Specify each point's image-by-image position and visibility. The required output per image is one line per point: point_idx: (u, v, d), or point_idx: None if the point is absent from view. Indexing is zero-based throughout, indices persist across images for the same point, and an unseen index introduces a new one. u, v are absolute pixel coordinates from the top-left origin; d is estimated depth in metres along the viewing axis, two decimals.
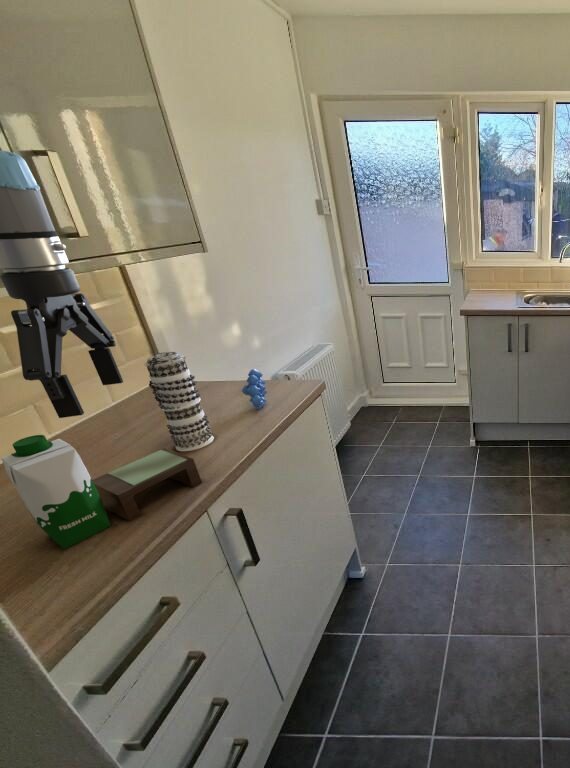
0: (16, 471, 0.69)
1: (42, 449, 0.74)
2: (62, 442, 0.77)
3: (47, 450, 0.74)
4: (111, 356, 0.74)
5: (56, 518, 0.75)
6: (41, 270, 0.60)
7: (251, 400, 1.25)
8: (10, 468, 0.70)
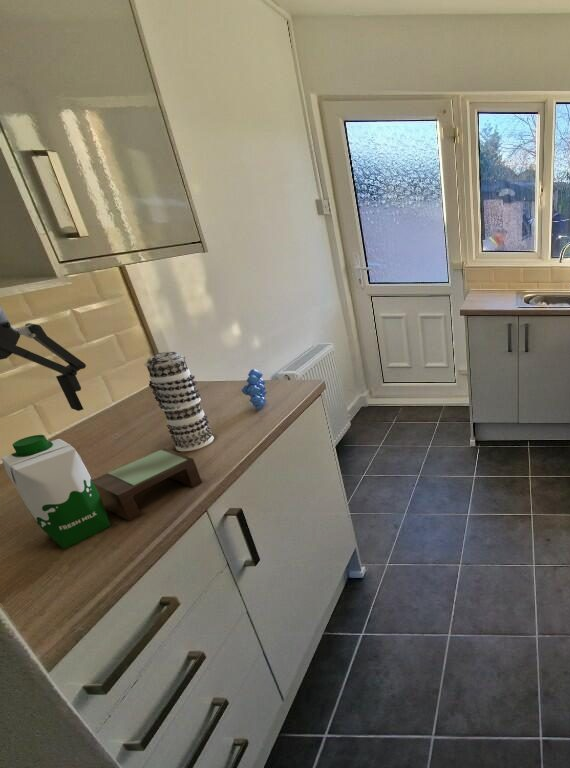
0: (16, 471, 0.69)
1: (42, 449, 0.74)
2: (62, 442, 0.77)
3: (47, 450, 0.74)
4: (68, 385, 0.75)
5: (56, 518, 0.75)
6: None
7: (251, 400, 1.25)
8: (10, 468, 0.70)
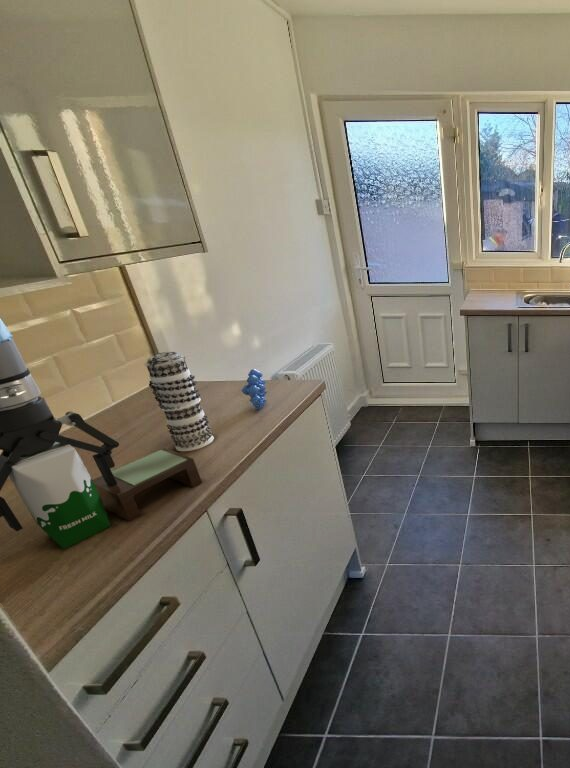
0: (16, 471, 0.69)
1: None
2: None
3: (47, 450, 0.74)
4: (104, 464, 0.81)
5: (56, 518, 0.75)
6: None
7: (251, 400, 1.25)
8: None
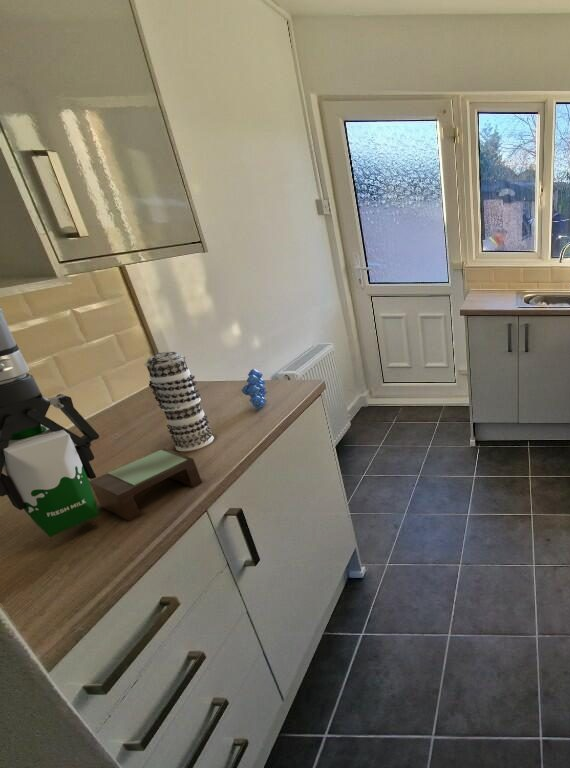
0: (8, 453, 0.68)
1: (35, 433, 0.73)
2: None
3: (40, 434, 0.73)
4: (82, 456, 0.78)
5: (45, 504, 0.73)
6: None
7: (251, 400, 1.25)
8: None
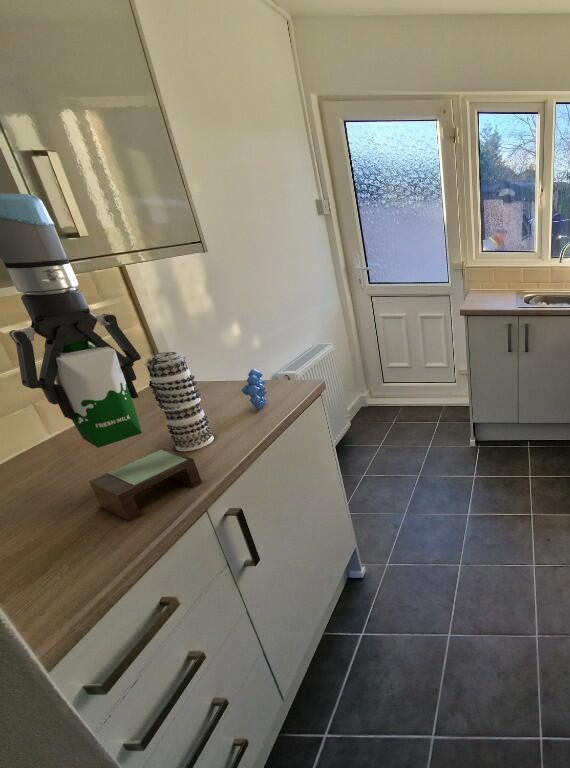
0: (61, 361, 0.72)
1: (83, 348, 0.77)
2: None
3: (88, 349, 0.77)
4: (126, 375, 0.82)
5: (94, 415, 0.77)
6: (34, 294, 0.69)
7: (251, 400, 1.25)
8: None
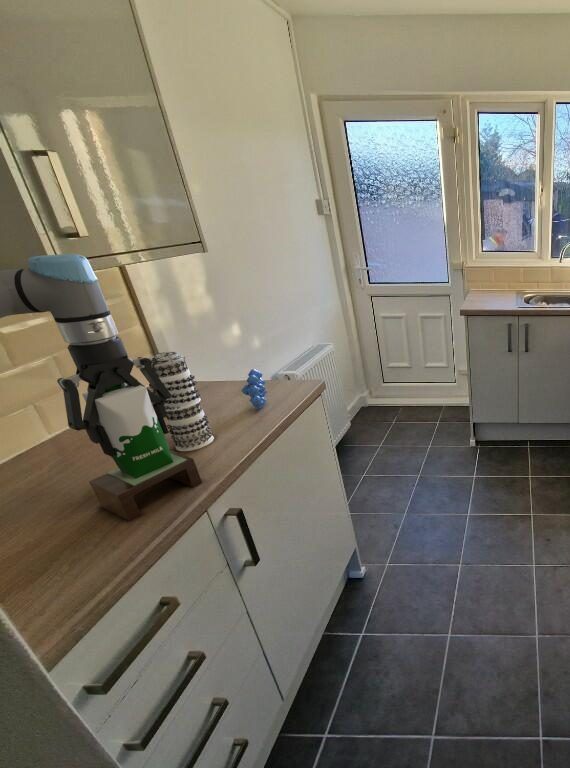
0: (99, 403, 0.78)
1: (117, 387, 0.83)
2: None
3: (122, 388, 0.83)
4: (158, 413, 0.88)
5: (131, 449, 0.83)
6: (81, 345, 0.75)
7: (251, 400, 1.25)
8: None
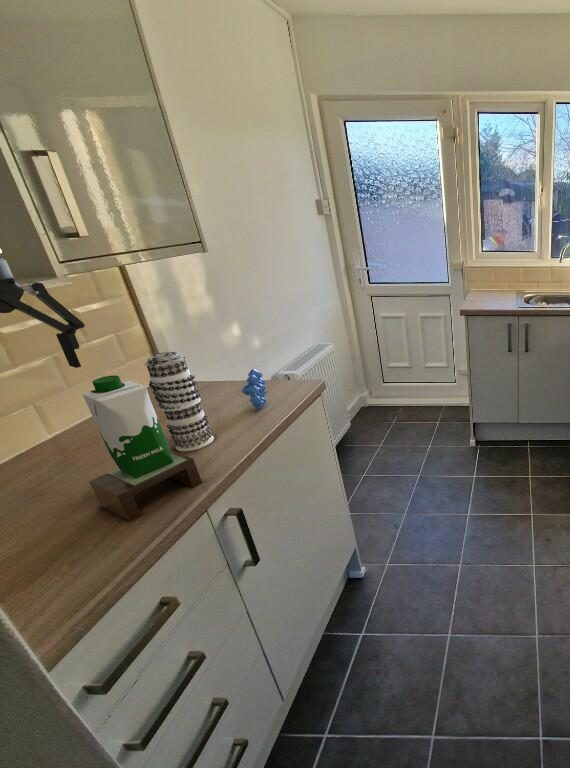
0: (100, 403, 0.78)
1: (117, 387, 0.83)
2: (133, 383, 0.86)
3: (122, 388, 0.83)
4: (67, 342, 0.79)
5: (131, 449, 0.83)
6: None
7: (251, 400, 1.25)
8: (93, 401, 0.79)
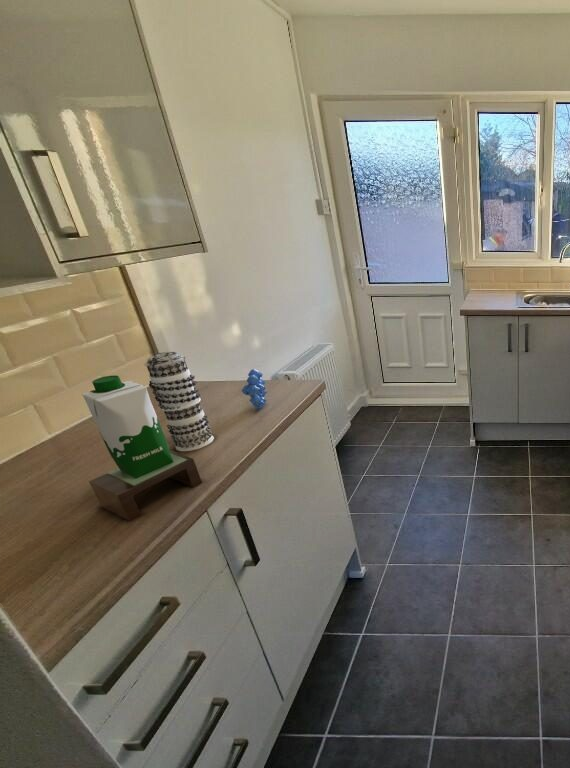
0: (100, 403, 0.78)
1: (117, 387, 0.83)
2: (133, 383, 0.86)
3: (122, 388, 0.83)
4: None
5: (131, 449, 0.83)
6: None
7: (251, 400, 1.25)
8: (93, 401, 0.79)
